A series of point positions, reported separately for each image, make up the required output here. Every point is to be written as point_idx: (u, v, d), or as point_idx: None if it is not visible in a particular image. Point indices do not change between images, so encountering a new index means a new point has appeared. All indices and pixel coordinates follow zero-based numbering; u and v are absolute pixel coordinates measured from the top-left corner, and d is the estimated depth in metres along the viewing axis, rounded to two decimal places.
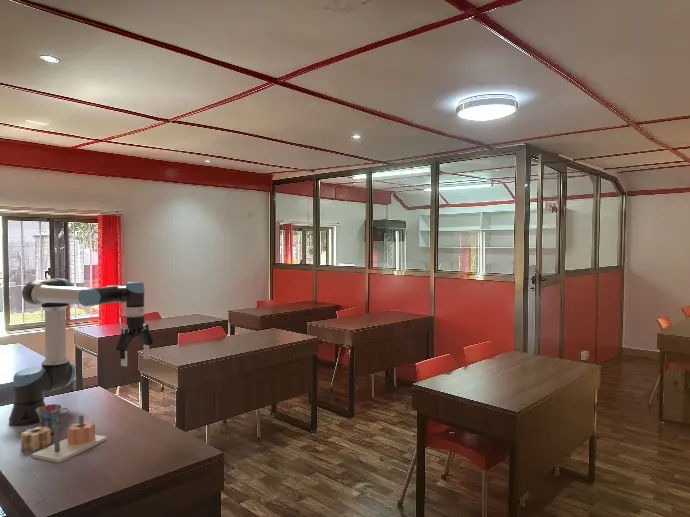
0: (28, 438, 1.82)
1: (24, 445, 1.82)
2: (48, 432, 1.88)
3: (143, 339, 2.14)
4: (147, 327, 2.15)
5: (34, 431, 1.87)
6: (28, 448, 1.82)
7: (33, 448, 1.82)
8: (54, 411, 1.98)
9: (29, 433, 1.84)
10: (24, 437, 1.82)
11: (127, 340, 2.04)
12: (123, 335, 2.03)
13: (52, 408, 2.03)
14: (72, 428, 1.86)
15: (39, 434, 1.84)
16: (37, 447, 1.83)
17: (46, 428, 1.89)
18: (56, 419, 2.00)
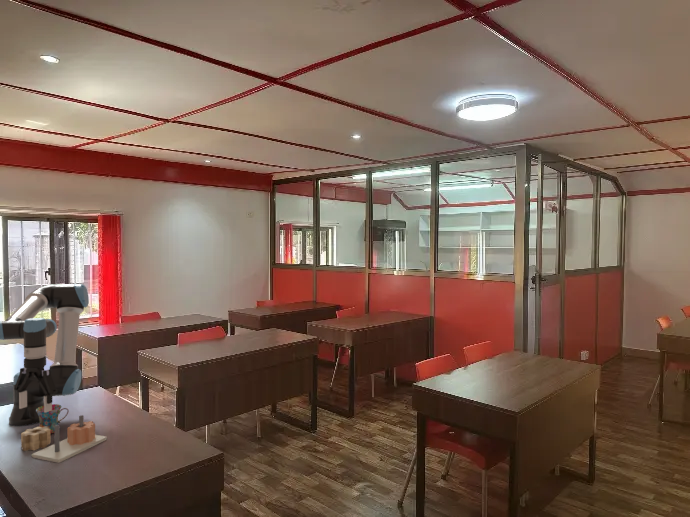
0: (28, 438, 1.82)
1: (24, 445, 1.82)
2: (48, 432, 1.88)
3: None
4: (44, 374, 1.82)
5: (34, 431, 1.87)
6: (28, 448, 1.82)
7: (33, 448, 1.82)
8: (54, 411, 1.98)
9: (29, 433, 1.84)
10: (24, 437, 1.82)
11: None
12: None
13: (52, 408, 2.03)
14: (72, 428, 1.86)
15: (39, 434, 1.84)
16: (37, 447, 1.83)
17: (46, 428, 1.89)
18: (56, 419, 2.00)
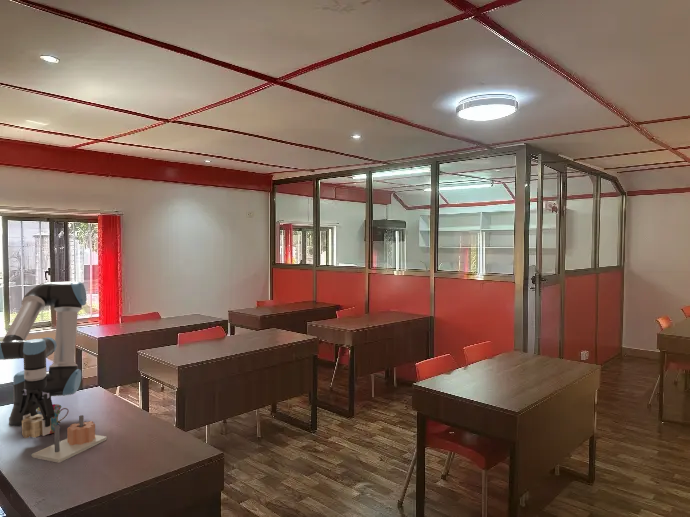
0: (29, 425, 1.83)
1: (25, 432, 1.82)
2: None
3: None
4: (44, 397, 1.83)
5: (35, 418, 1.88)
6: (29, 435, 1.83)
7: (34, 435, 1.83)
8: (54, 411, 1.98)
9: (30, 420, 1.84)
10: (25, 424, 1.82)
11: None
12: None
13: None
14: (72, 428, 1.86)
15: (40, 421, 1.84)
16: (38, 434, 1.84)
17: (46, 415, 1.89)
18: (56, 419, 2.00)
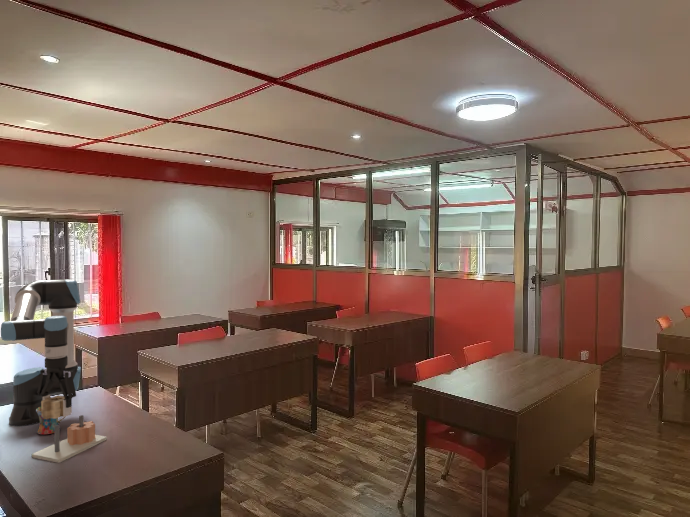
0: (49, 406, 1.74)
1: (45, 413, 1.73)
2: None
3: None
4: (65, 376, 1.75)
5: (54, 399, 1.79)
6: (49, 416, 1.74)
7: (54, 416, 1.74)
8: None
9: (50, 401, 1.76)
10: (45, 404, 1.73)
11: None
12: None
13: None
14: (72, 428, 1.86)
15: (60, 402, 1.76)
16: (58, 415, 1.75)
17: None
18: (56, 419, 2.00)
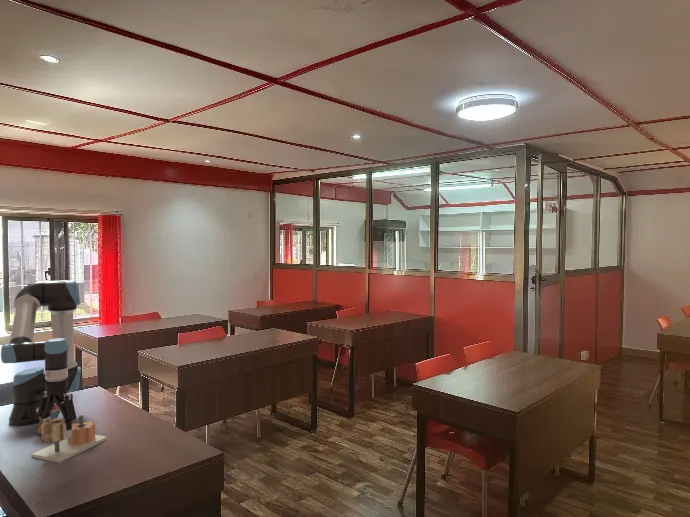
0: (49, 429, 1.74)
1: (45, 436, 1.74)
2: None
3: None
4: (65, 399, 1.75)
5: (55, 422, 1.79)
6: (49, 439, 1.74)
7: (54, 439, 1.74)
8: (54, 411, 1.98)
9: (50, 424, 1.76)
10: (45, 428, 1.74)
11: None
12: None
13: (52, 408, 2.03)
14: (72, 428, 1.86)
15: (60, 425, 1.76)
16: (58, 438, 1.75)
17: None
18: None
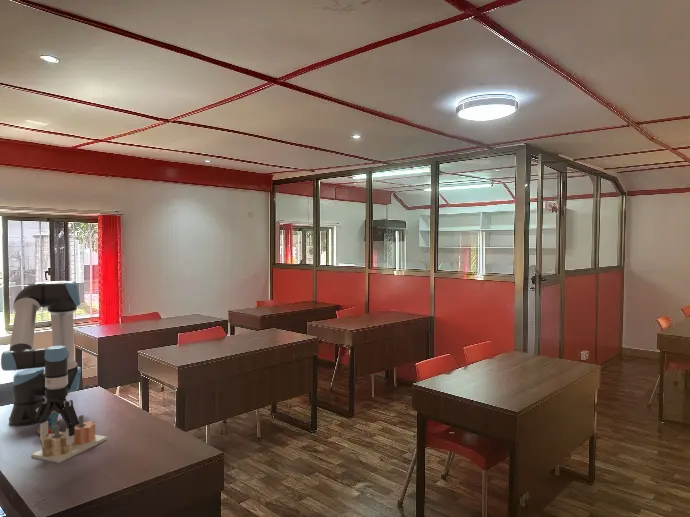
0: (49, 443, 1.75)
1: (45, 451, 1.74)
2: None
3: None
4: (66, 405, 1.75)
5: None
6: (49, 454, 1.75)
7: (55, 454, 1.74)
8: (54, 411, 1.98)
9: (50, 438, 1.76)
10: (45, 442, 1.74)
11: None
12: None
13: None
14: None
15: (61, 439, 1.76)
16: (59, 453, 1.76)
17: None
18: (56, 419, 2.00)
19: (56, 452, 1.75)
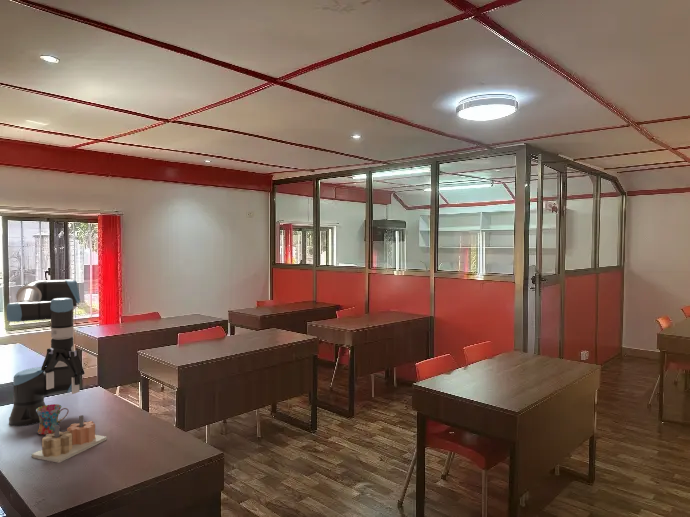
0: (49, 443, 1.75)
1: (45, 451, 1.74)
2: (70, 437, 1.80)
3: None
4: (71, 355, 1.79)
5: None
6: (49, 454, 1.75)
7: (55, 454, 1.74)
8: (54, 411, 1.98)
9: (50, 438, 1.76)
10: (45, 442, 1.74)
11: None
12: None
13: (52, 408, 2.03)
14: (72, 428, 1.86)
15: (61, 439, 1.76)
16: (59, 453, 1.76)
17: (67, 433, 1.81)
18: (56, 419, 2.00)
19: (56, 452, 1.75)
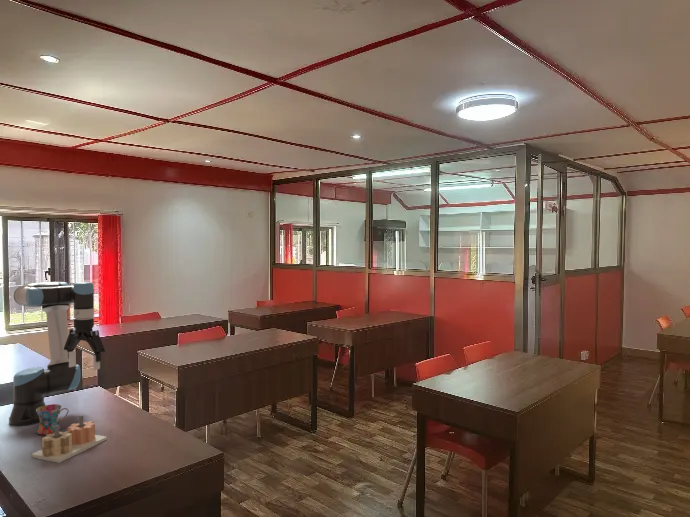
0: (49, 443, 1.75)
1: (45, 451, 1.74)
2: (70, 437, 1.80)
3: None
4: (93, 334, 1.94)
5: None
6: (49, 454, 1.75)
7: (55, 454, 1.74)
8: (54, 411, 1.98)
9: (50, 438, 1.76)
10: (45, 442, 1.74)
11: None
12: None
13: (52, 408, 2.03)
14: (72, 428, 1.86)
15: (61, 439, 1.76)
16: (59, 453, 1.76)
17: (67, 433, 1.81)
18: (56, 419, 2.00)
19: (56, 452, 1.75)
